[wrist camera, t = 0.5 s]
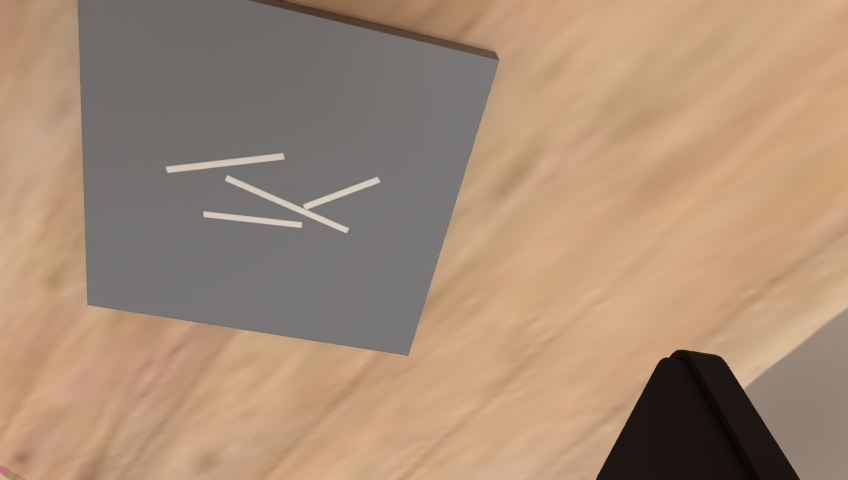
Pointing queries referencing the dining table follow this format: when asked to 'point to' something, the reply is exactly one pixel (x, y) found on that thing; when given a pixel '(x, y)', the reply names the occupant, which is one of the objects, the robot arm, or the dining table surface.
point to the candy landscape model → (9, 474)
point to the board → (271, 165)
